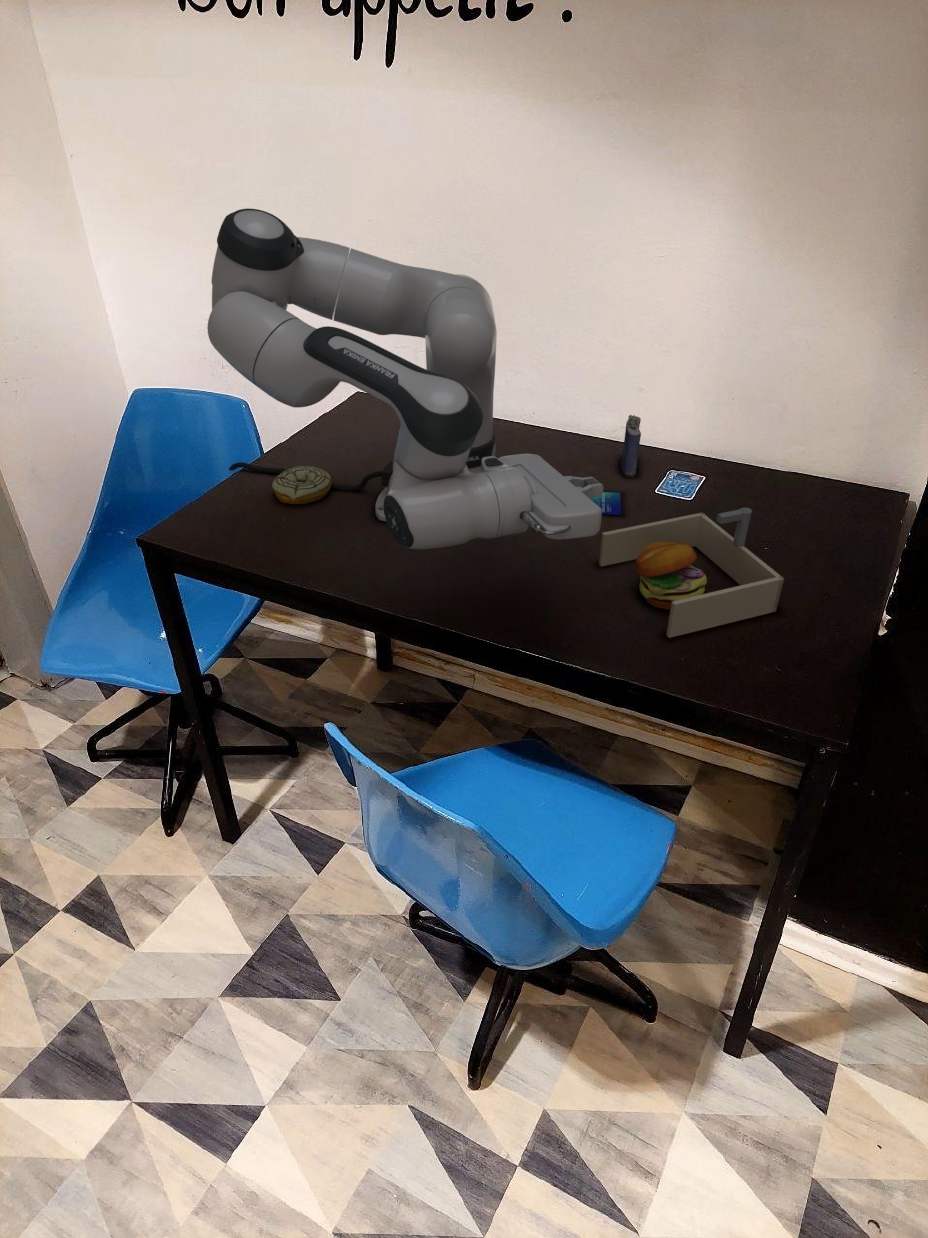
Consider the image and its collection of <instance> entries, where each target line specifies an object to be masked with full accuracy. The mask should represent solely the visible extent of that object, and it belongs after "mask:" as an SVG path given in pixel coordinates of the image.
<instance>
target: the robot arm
mask: <svg viewBox="0 0 928 1238" xmlns="http://www.w3.org/2000/svg"><path fill="white" fill-rule="evenodd" d="M216 244H217V247H216V251H215V256H214V259H213V265H212V272H211V312H210V314H209V316H208V320H207V327H206V329H207V335H208V339H209V342H210V344H211V346H212V347H213V348H214V349H215V350H216V351H217V353H218V354H219V355H220V356H221V357H222V358H223V359H224V360H225V361H226V362H227V363H228V364H229V365H230V366H231V367H232V368H233V369H235V370H236V371H237V372H238V373H239V374H240V375H241V376H242V377H244V378H245V379H246V380H248V381H249V382H250V383H252V384H253V385H254V386H256V387H257V388H258V389H260V390H261V391H263V392H264V393H265V394H266V395H268V396H269V397H271V398H272V399H274V400H275V401H276V402H279V403H280V404H284V405H285V406H289V407H291V408H295V409H297V408H307V407H310V406H314V405H316V404H318V403H319V402H321V401H323V400H324V399H325V398H326V397H327V396H329V395H330V394H331V393H332V392H333V391H334V390H335V389H337V387H338V386H339V384H340V383H347V384H348V385H351V386H354V388H357V389H359V390H360V391H362V392H364V393H366V394H368V395H370V396H371V397H373V398H375V399H378V400H379V401H381V402H383V403H385V404H386V405H389V406H390V407H392V409H393V410H394V411H395V413H396V415H397V417H398V420H399V431H398V435H397V440H396V443H395V446H394V447H395V448H394V454H393V459H392V460H391V461H389V462H388V463H387V464H386V466H385V467H384V468H383V469H381V470H378V471H374V472H371V473H369V474H367V475H365V476H364V477H363V478H362V480H361V482H360V483H359V484H358V485H353V486H352V485H351V486H347V485H346V486H345V485H340V484H336V483H332V482H331V487H330V490H335V491H341V492H358V491H361V490H363V489H364V488H365V487H366V486H367V483H368V482H369V481H370V480H372V479H375V478H379V477H380V483H381V487H384V488H383V489H382V490H381V492H380V493H379V495H378V497H377V498H376V501H375V507H374V508H375V509H374V513H375V517H376V518H377V519H378V520H379V521H382V522H386V525H387V528H388V530H389V533H390V534H391V536H392V537H393V539H394V540H395V542H397V543H398V544H399V545H400V546H402V547H403V548H405V549H406V548H407V549H411V550H435V549H442V548H448V547H455V546H460V545H464V544H466V543H468V542H469V541H472V540H476V539H484V540H491V539H496V538H502V537H508V536H513V535H517V534H524V533H525V532H527V531H528V530H529V527H530V528H531V530H532V531H533V532H534V533H536V534H542V535H543V536H544V537H545V538H548V539H549V540H550V539H551V540H573V539H579V538H587V537H593V536H596V535H597V534H598V533H599V532H600V530H601V527H602V520H603V519H602V517H603V514H602V510H601V508H600V507H599V506H598V505H596V504H595V503H594V502H593V501H592V500H591V499H592V498H595V497H600V496H602V494H603V492H604V485H603V483H600V482H599V481H598V480H597V479H596V478H594V477H593V476H587V477H580V476H573V475H564V476H563V475H562V473H560V472H559V471H558V470H557V469H555V468H554V467H553V466H552V465H550V463H548V462H547V461H546V460H545V459H544V458H542V456H540V455H538V454H534V453H520V454H518V453H517V454H512V455H503V456H500V457H496V453H497V451H496V448H497V447H496V445H497V444H496V436H495V434H494V432H493V431H494V430H493V428H494V392H495V391H494V389H495V377H496V361H497V338H498V337H497V335H498V330H497V325H496V318H495V317H496V316H495V312H494V307H493V301H492V297H491V296H490V293H489V292H488V290H487V288H485V287H484V285H482V284H481V282H479V281H478V280H477V279H475V278H473V277H472V276H469V275H467V274H461V273H460V274H456V273H455V274H454V273H450V272H445V271H440V270H435V269H430V268H424V267H418V266H412V265H406V264H403V263H398V262H395V261H392V260H388V259H387V258H386V259H385V258H382V257H379V256H376V255H373V254H370V253H367V252H365V251H360V250H358V249H354V248H352V247H348V246H345V245H342V244H338V243H336V242H335V243H334V242H330V241H326V240H321V239H316V238H310V237H301V236H297V235H296V234H294V232H293V230H292V229H291V228H290V227H289V226H288V225H287V224H286V223H285V222H284V221H283V220H282V219H280V218H279V217H278V216H276V215H274V214H273V213H270V212H269V211H265V210H262V209H257V208H241V209H237V210H235V211H233V212H231V213H229V214H227V215H226V216H225V217H224V219H223V220H222V223H221V225H220V228H219V230H218V234H217V237H216ZM289 305H293V306H295V307H298V308H300V309H302V310H304V311H306V312H309V313H311V314H313V315H316V316H318V317H321V318H324V319H327V320H330V321H334V322H337V323H340V324H343V325H346V326H349V327H352V328H355V329H359V330H362V331H365V332H368V333H372V334H375V335H378V336H388V335H389V336H391V335H398V336H408V337H415V338H422V339H424V340H425V358H426V359H425V362H426V363H425V364H426V365H425V367H426V368H424V367H422V366H419V365H417V364H415V363H414V362H411V361H409V360H407V359H405V358H403V357H401V356H399V355H398V354H395V353H393V352H391V351H389V350H388V349H386V348H383V347H381V346H379V345H378V344H376V343H373V341H372V342H371V341H369V340H367V339H365V338H363V337H361V336H359V335H357V334H355V333H353V332H351V331H348V330H345V329H342V328H340V327H336V326H330V325H329V326H327V325H326V326H321V327H318V328H316V327H314V326H312V325H310V324H308V323H307V322H305V321H303V320H302V319H300V318H299V317H297V316H296V315H294V314H293V313H292V312H290V311H288V306H289ZM238 468H242V469H247V470H249V471H250V470H251V471H253V472H257V473H266V474H277V475H280V474H281V473H282V472H283V471H286V470H288V469H289V468H288V469H286V468H277V467H266V466H265V467H264V466H259V465H254V464H252V463H251V464H250V463H247V462H241V461H240V462H235V463H233V464H231V465H230V466H229V468H228V471H235V470H236V469H238Z"/></svg>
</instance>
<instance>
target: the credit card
mask: <svg viewBox="0 0 928 1238" xmlns="http://www.w3.org/2000/svg"><path fill="white" fill-rule="evenodd" d="M590 500H592V501H593V502H594V503H595V504H596V505H598V506H599V507H600V508H601V510H602V515H609V516H621V515H622V503H621V502H622V501H621V500H622V499H621V493H620V492H611V491H610V492H608V491H603V494H602V496H600V497H595V498H592V499H590Z"/></svg>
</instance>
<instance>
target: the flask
mask: <svg viewBox="0 0 928 1238" xmlns="http://www.w3.org/2000/svg"><path fill="white" fill-rule="evenodd" d="M641 421H642V418H641V417H639V416H636V415H634V414H633V415H632V414H629V415H628V419H627V421H626V423H625V429H624V430H625V432H624V439H623V449H622V455H621V462H620V468H621V473H622V474H623V476H624V477H627V478H634V477H635V476H636V475H637V465H638V460H639V459H638V457H639V449H640V444H641V437H642V432H641V430H640V425H641Z"/></svg>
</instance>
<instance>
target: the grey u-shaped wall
mask: <svg viewBox="0 0 928 1238" xmlns="http://www.w3.org/2000/svg"><path fill="white" fill-rule="evenodd" d="M752 513H753V510H752V509H751V508H750V507H741V508H738V509H735V510H729V511H726V512H720V513H717V517H716V522H718V523H719V524H720V525H723V524H729V523H733V522H736V527H735V532H734V536H732V535H730V534H729V532H727V531H726V530H725V529H723V528H722V527H721V526H720V525H718V523H716V522H715V521H713V520H712V519H711V518H709V517H708V516H707V515H706V514H705V513H704V512H697V513H693V514H690V515H689V514H688V515H682V516H678V517H673V518H668V519H663V520H658V521H654V522H653V521H652V522H649V523H644V524H640V525H639V524H638V525H634V526H629V527H624V528H619V529H614V530H609V531H603V532H602V533H601V541H600V550H599V558H598V565H599V566H600V567H607V566H610V565H615V564H619V563H620V564H621V563H624V562H629V561H633V560H637V558H638V556H639V554H640V553H641V551H642V550H643V549H644V548H645V547H646V546H648V545H649V544H652V543H655V542H673V543H682V544H688V545H690V546H691V547H692V548H694V547H696V548H697V549H698V550H699V551H700V552H701V553H703V555H704V556H706V557H707V558H708V559H709V560H710V561H712V562H713V564H715V565H716V566H717V567H719V568H720V569H721V570H722V571H723V572H724V573H726V574H727V575H728V576H729V577H730V578H731V579H732V580H733V581H735V582H736V583H737V584H738V585H736V586H733V587H728V588H724V589H720V590H716V591H711V592H707V593H704V594H702V595H698V596H694V597H689V598H685V599H681V600H677V601H672V604H671V610H670V609H669V615H668V616H669V617H668V623H667V629H666V633H665V634H666V637H667V638H669V639H671V638H675V637H679V636H684V635H686V634H690V633H695V632H699V631H703V630H707V629H711V628H715V627H720V626H723V625H727V624H731V623H735V622H738V621H743V620H747V619H748V620H749V619H752V618H755V617H759V616H763V615H769V614H772V613H776V612H777V609H778V604H779V601H780V597H781V593H782V589H783V585H784V581H785V578H784V577H783V576H782V575H781V574H779V573H778V572H777V571H776V570H774V569H773V568H772V567H771V566H769V565H768V564H767V563H765V562H764V561H763V560H762V559H761V558H759V556H757V555H756V554H754V553H753V552H752V551H750V550H749V549H748V548H747V547H746V541H747V537H748V532H749V527H750V523H751V518H752Z"/></svg>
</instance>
